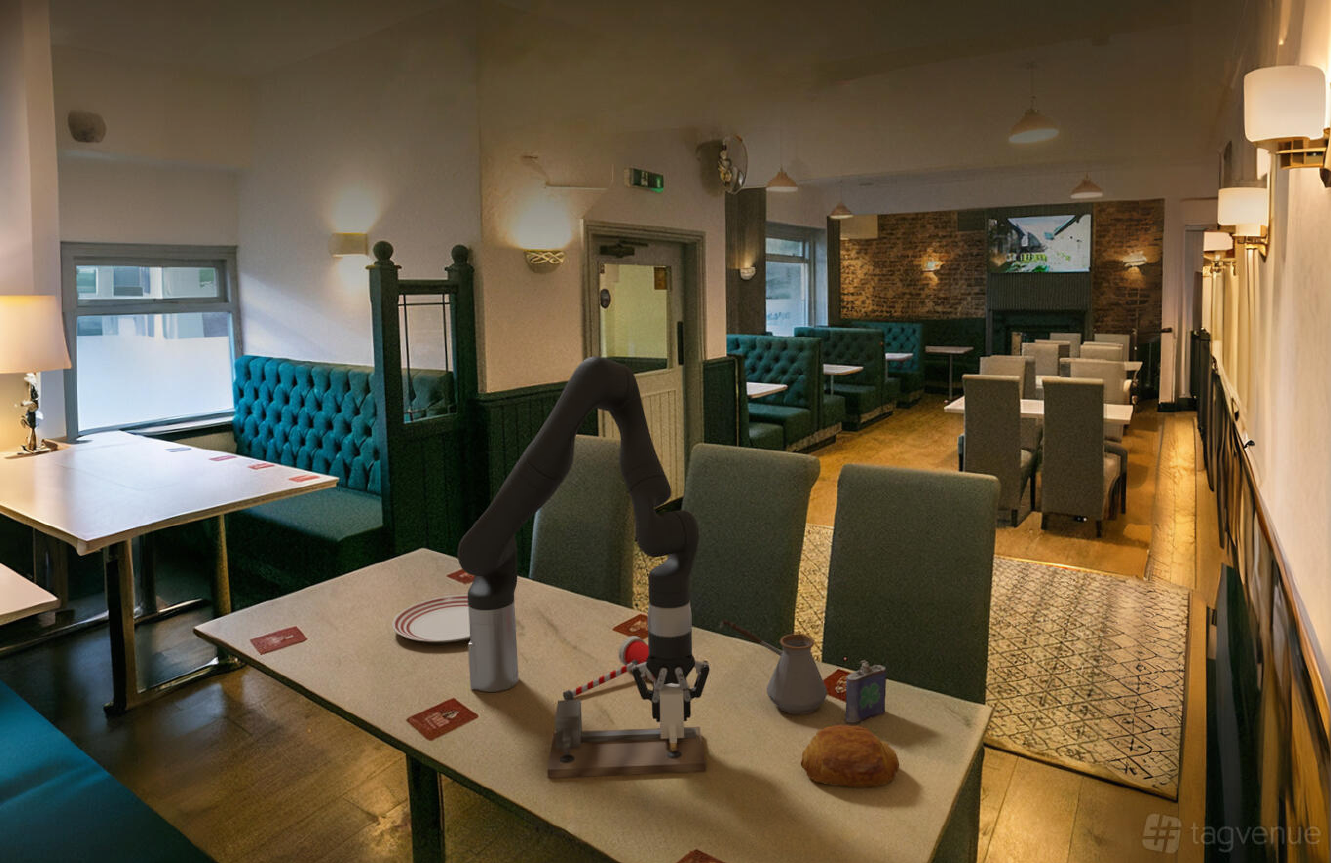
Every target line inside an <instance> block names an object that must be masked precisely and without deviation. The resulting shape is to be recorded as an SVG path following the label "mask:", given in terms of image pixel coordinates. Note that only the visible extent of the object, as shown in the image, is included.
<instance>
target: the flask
mask: <svg viewBox="0 0 1331 863" xmlns="http://www.w3.org/2000/svg"><path fill="white" fill-rule="evenodd" d="M858 664H859V665H860V664H861V667H860V669H858V670H856V671H854V672H852V673H850V674H848V675H846V676H845V682H846V683H845V684H846V685H845V716H844V717H845V718H844V719H845V720H844V721H845V723H846V724H847V725H850V726H853V725H854V726H857V725H860V723H863V722H867V721H870V720H871V719H872V718H873V719H875V718H876V717H880V716H884V715H885V713H886V696H887V694H886V691H887V690H886V687H887V686H886V685H887V671H888V670H887V668H886V666H883V665H880V664H878V665H877V664H874V665H873V666H870V664H869V663H868V661H866V660H865V659H864V660H861V661H860V662H859V663H858Z"/></svg>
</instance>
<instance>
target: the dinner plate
mask: <svg viewBox="0 0 1331 863" xmlns="http://www.w3.org/2000/svg"><path fill="white" fill-rule="evenodd" d="M391 627H392V629H393V631H394V632H395V633H396V634H398V635H399V636H400V637H403V638H405V639H408V640H413V641H419V642H424V643H425V642H427V643H452V641H453V642H459V640H460V641H464V640H470V628H469V611H468V594H459V595H458V594H455V595H447V596H440V597H436V598H430V599H427V600H424V601H420V602H418V603H415V604H413V605H409V607H406V608H405V609H402V611H400V612H399V613H398V614H396V616H395V617H394V618H393V620H392V624H391Z"/></svg>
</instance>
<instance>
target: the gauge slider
mask: <svg viewBox="0 0 1331 863" xmlns="http://www.w3.org/2000/svg"><path fill="white" fill-rule="evenodd" d="M659 699H660V722H659V728H660V733H661V739H667V738H669V739H670V750H671V751H676V743H677V738H684V727H685V721H684V701H683V690H681V688H680V685H679V684H673V683H670V684H663V688H662V691H660V698H659Z"/></svg>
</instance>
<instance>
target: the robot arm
mask: <svg viewBox="0 0 1331 863" xmlns="http://www.w3.org/2000/svg"><path fill="white" fill-rule="evenodd" d="M642 401H643V400H642V397H641V392H640V388H639V385H638V382H637V378H636V376H635V374H634V372H633V370H632V369H631V368H630V367H628V366H626V365H625V364H623V363H619V362H617V361H613V360H611V359H607V358H604V357H601V356H595V355H594V356H593V355H592V356H590V357H587V358H585V359H584V360H582V362H581V363H580V364H578V366H577V367H576V368H575V370H574V372H573V373H572V375H571V376H570V378H569V380H568V382H567V384H566V385H565V387H564V388H563V391H562V392H561V395H560V397H559V398H558V400H557V402H556V403H555V405H554V407H553V409H552V411H551V412H550V414H549V415H548V417H547V419H545V421H544V423H543V425H542V427H541V428H540V430H539V431H538V433H537V434H535V437H534V438H533V439H532V441H531V443H530V444H529V445H528V446H527V447H526V449H525V450H524V452H523V453H522V455H521V456H520V458H519V459H518V460H517V462H516V464H515V465H514V467H513V468H512V470H511V472H510V473H509V475H508V476H507V477H506V479H505V481H504V482H503V483H502V486H500V488H499V490H498V492H497V493H496V495H495V496H494V498H493V500H492V501H491V503H490V505H489V506H488V507H487V509H486V510H485V511H484V513H483V514H481V516H480V517H479V518H478V520H476V522H475V523H474V524H473V525H472V527H471V528H470V529H468V531H467V532H466V533H465V534H464V535H463V536H462V538H461V539H460V541H459V543H458V545H457V546H458V548H457V560H458V563H459V566H460V567H461V569H462V571H464V572H466V573H467V574H468V575H471V576H474V577H473V580H472V583H471V585H470V586H469V588H468V590H467V595H468V611H469V628H470V638H469V642H468V646H467V650H468V663H469V664H468V667H469V670H468V671H469V684H470V685H469V686H470V689H471V690H477V691H481V692H486V693H487V692H488V693H491V692H492V693H493V692H494V693H495V692H502V691H505V690H509V689H512V687H514V686H516V684H518V682H519V662H518V660H519V659H518V643H517V640H518V639H517V624H516V623H517V622H516V606H515V605H516V603H515V602H516V601H515V592H516V588H517V586H518V585H517V583H518V546H517V540H516V537H515V535H516V534H517V532H518V531H519V530H520V528H522V526H524V524H525V523H526V522H527V521H529V519H531V518H532V517H533V516H534V515H535V514H536V513H537V512H538V511H539V510H540V509H541V508H542V507H543V506H544V505H545V504H546V503H547V502H548V501H549V500H550V499H551V498H552V497H553V496H554V494H555V493H556V492H557V491H558V489H559V487H561V485H562V483H563V482H564V481H565V479H566V477H567V476H568V475H569V474H570V471H571V469H572V466H573V463H574V456H575V454H574V453H575V443H576V442H575V441H576V437H577V434H578V431H579V429H580V427H581V425H582V424H583V423H584V421H585V420H586V418H587V417H588V416H589V414H590V413H591V412H592V411H593V410H594V409H598V410H602V411H605V412H608V413H609V415H611V418H612V419H613V420H614V423H615V424H616V426H617V429H618V433H619V436H620V437H619V438H620V444H619V456H618V459H619V460H618V461H619V468H620V472H621V475H622V478H623V481H624V483H625V486H626V488H627V491H628V493H629V496H630V499H631V501H632V507H633V516H634V522H635V523H634V525H635V537H636V543H637V545H638V547H639V549H640V550H641V551H642V552H643V553H644V554H645V555H646V556H648V557H650V558H659V557H665V556H667V559H666V560H665V561H664V562H662V563H660V564H658V565H656V566H655V567H653V568H652V569H651V570H650V571H649V573H648V579H647V580H648V582H647V584H648V608H647V620H646V622H647V637H648V638H647V642H648V644H647V645H648V651H649V655H648V658H647V659H646V662H644V663H641V664H637V663H634V664H633V665H632V670H631V674H632V676H633V679H634V682H635V685H636V687H637V689H638V693H639V694H640V697H641V699H642V700H643V701H644V700H645V701H646V700H647V701H650V702H651V716H652V719H654V720H655V722H656V723H660V699H659V698H660V691H662V688H663V684H670V683H673V684H679V685H680V688H681V690H683V701H684V722H687V721H688V719H690V718H691V715H692V714H691V713H692V712H691V711H692V708H691V707H692V705H691V704H692V702H691V701H692V700H693V699H700V698H701V697H702V695H703V691H704V688H705V686H706V682H707V680H708V676H709V674H710V663H709V662H708V661H707V660H703V661H699V660H696V659H695V657H694V656H693V635H692V634H693V629H692V627H693V626H692V624H693V619H692V610H691V609H692V608H691V600H690V599H691V598H690V594H691V592H690V589H691V588H690V586H691V585H690V583H691V582H690V581H691V580H690V579H691V574H692V570H693V566H694V562H695V558H696V556H697V551H698V547H699V543H700V542H699V541H700V528H699V524H698V522H697V520H696V517H695V516H694V515H693V514H692V513H691V512H689V511H687V510H685V509H684V510H683V509H682V510H674V511H668V512H663V513H657V511H656V508H658V507H661V506H662V505H664V504H665V503H667V502H668V501H669V500H670V498H671V496H672V488H671V486H670V483H669V480H668V478H667V475H666V473H665V470H664V469H663V466H662V462H661V461H660V459H659V457H658V454H657V452H656V449H655V447H654V444H653V443H654V442H652V441H653V440H652V437H651V434H650V430H649V427H648V423H647V418H646V414H645V410H644V405H643V402H642ZM694 668H695V671H696V675H697V676H696V679H695V682H694V684H693V687H692V688H690V687H689V684H688V680H687V678H688V676H689V675H690V673H691V672H692V671H693V669H694ZM646 669H648V670H649V671H650V672H651V674H652V675H653V676H654V677H655V680H654V682H653V685H652V689H649V688H648V685H647V683H646V680H645V678H644V677H646V674H645V670H646Z"/></svg>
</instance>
